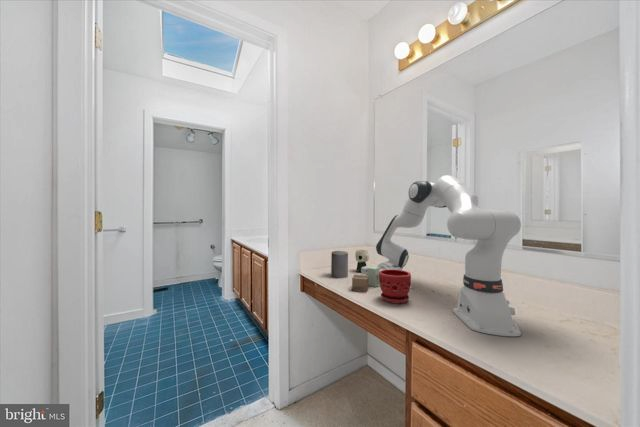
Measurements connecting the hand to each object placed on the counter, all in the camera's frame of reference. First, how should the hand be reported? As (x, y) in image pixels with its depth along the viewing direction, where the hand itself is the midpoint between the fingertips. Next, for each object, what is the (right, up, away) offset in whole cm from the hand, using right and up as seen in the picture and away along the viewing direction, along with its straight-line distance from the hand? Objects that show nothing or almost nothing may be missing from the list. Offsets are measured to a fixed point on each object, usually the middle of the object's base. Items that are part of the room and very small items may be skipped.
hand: (372, 275), depth 127 cm
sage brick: (+1, -5, +1) cm, 5 cm away
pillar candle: (-15, -5, +18) cm, 24 cm away
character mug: (-1, -4, +27) cm, 28 cm away
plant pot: (+5, -6, -19) cm, 21 cm away
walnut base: (-7, -5, -5) cm, 10 cm away
